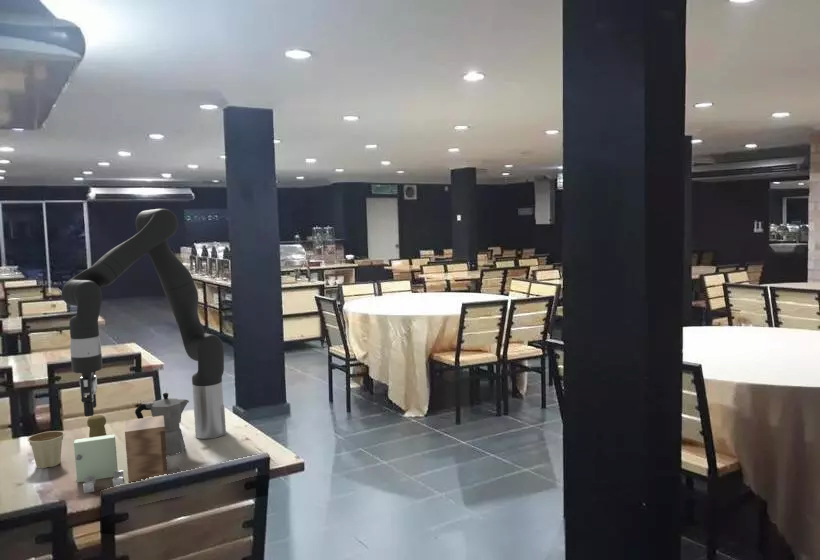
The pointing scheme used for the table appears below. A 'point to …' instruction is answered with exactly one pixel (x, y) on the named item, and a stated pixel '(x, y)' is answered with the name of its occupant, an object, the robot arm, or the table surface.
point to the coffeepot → (168, 420)
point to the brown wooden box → (145, 448)
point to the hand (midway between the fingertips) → (90, 411)
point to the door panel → (95, 457)
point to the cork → (96, 426)
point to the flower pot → (47, 448)
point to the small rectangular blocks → (90, 482)
